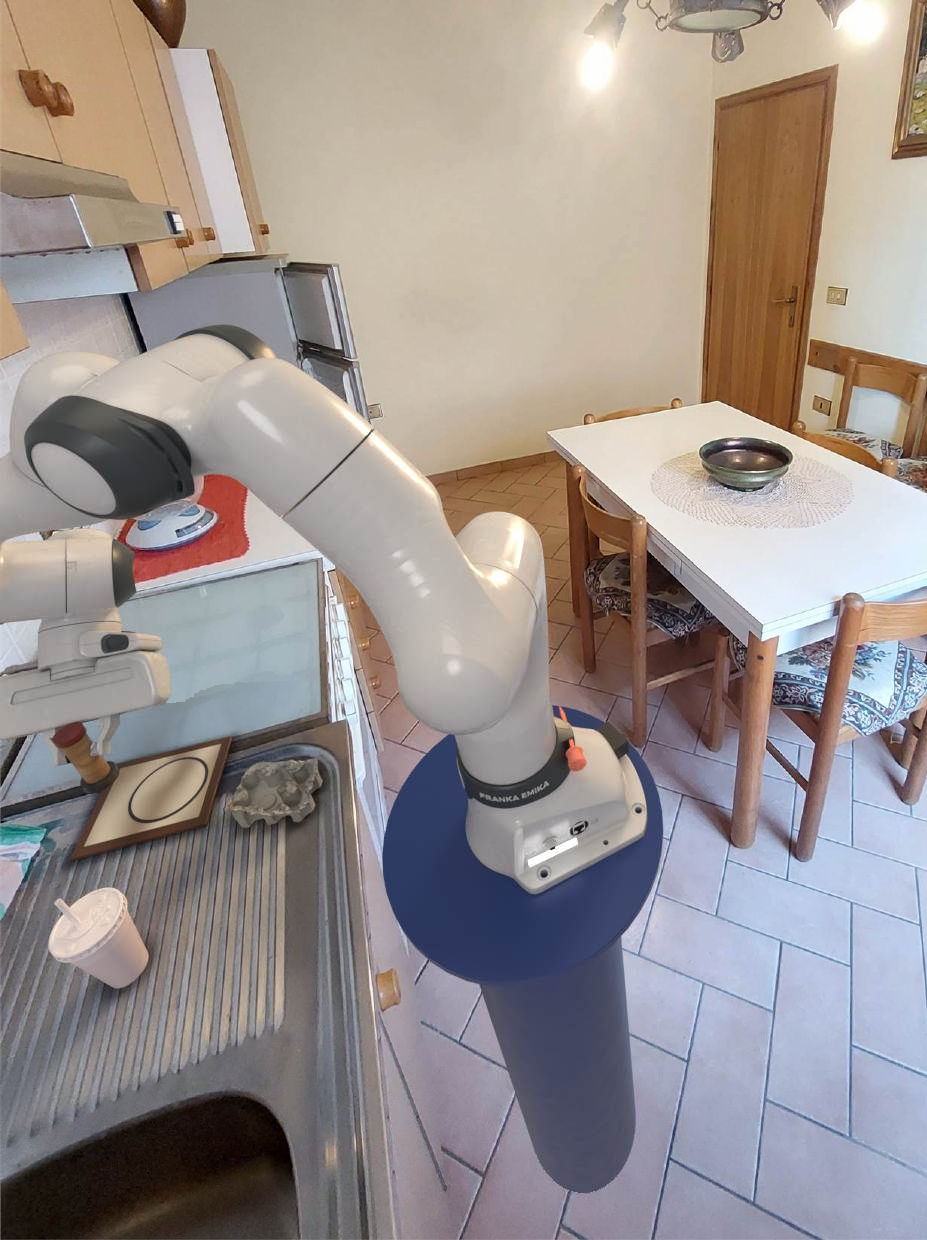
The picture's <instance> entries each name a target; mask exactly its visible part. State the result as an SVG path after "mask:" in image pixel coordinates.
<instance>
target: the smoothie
mask: <svg viewBox="0 0 927 1240" xmlns="http://www.w3.org/2000/svg"><path fill="white" fill-rule="evenodd" d="M53 904H54V905H55V907H57V908H58V909H59V911H61V913H62V914H61V916H60V918H58V920H57V921H56V922H55V924H54V926H53V928H52V930H51V931H50V935H49V938H48V943H47V944H48V951H49V953H50V954H51V955H52V956H53V958H54V959H55V960H56V961H57V962H59V963H63V964H68V963H69V964H71V965H72V966H75V967H77V968H79V969H81V970H82V971H83V972H85V973H87V974H89V975H90V976H92V977H94V978H96V979H97V980H99V981H101V982H102V983H104V984H106V985H108V986H109V987H111V988H113V989H123V988H125V987H128V986H129V985H131V984H132V983H133V982H135V981H136V980H137V979H138V978H139V977H140V976H141V974H142V973H143V972H144V970H145V968H146V967H147V965H148V963H149V952H148V950H147V948H146V945H145V943H144V941H143V939H142V938H141V935H140V932H139V931H138V929H137V927H136V925H135V922H134V921H133V918H132V917H131V914H130V912H129V910H128V900H127V898H126V895H124V894H123V893H122V892H121V891H120V890H119V889H118V888H115V887H102V888H98V889H94V890H93V891H90V892H89V893H87V894H85V895H84V896H82V897H80V898H79V899H77V900H76V901H75V902H74V903H72V905H70V906H69V905H68V904H67V903H66V902H65V901H64V900H63V899H62V898H61V897H59V898H57V899H56V900H55V901H54V903H53Z"/></svg>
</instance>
